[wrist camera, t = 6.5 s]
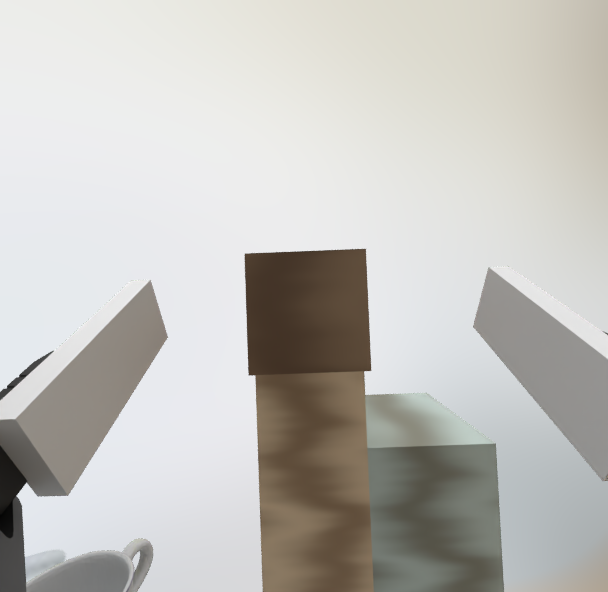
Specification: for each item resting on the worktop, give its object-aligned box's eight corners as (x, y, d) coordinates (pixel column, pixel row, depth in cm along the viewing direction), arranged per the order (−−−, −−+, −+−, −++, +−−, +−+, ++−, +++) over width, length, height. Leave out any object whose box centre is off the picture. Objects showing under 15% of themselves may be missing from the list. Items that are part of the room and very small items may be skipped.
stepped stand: (273, 913, 17) (254, 342, 18) (286, 685, 27) (273, 328, 28) (521, 908, 17) (489, 333, 17) (440, 681, 27) (423, 323, 27)
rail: (248, 375, 9) (244, 253, 9) (290, 324, 33) (289, 291, 33) (371, 370, 9) (365, 248, 9) (324, 323, 33) (323, 289, 33)
